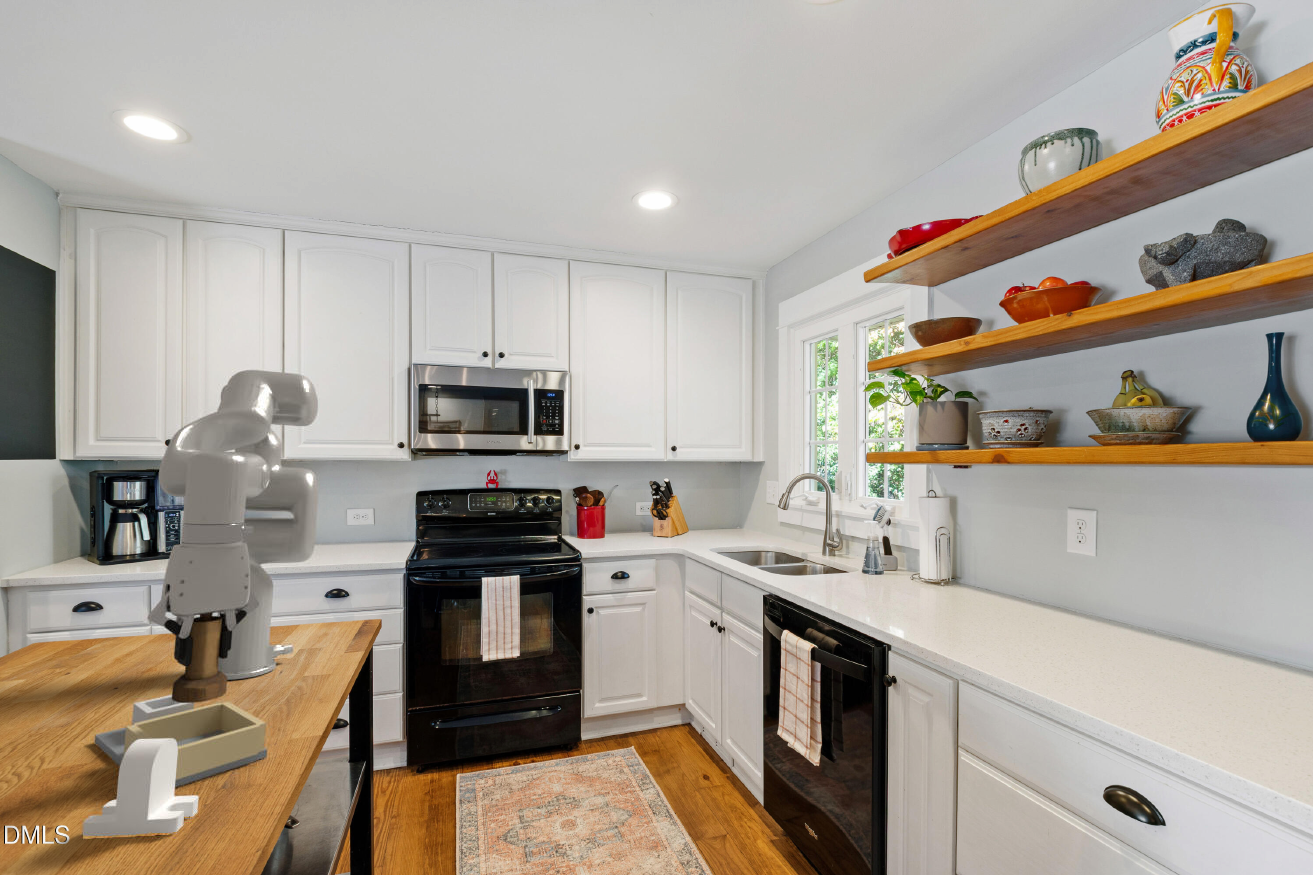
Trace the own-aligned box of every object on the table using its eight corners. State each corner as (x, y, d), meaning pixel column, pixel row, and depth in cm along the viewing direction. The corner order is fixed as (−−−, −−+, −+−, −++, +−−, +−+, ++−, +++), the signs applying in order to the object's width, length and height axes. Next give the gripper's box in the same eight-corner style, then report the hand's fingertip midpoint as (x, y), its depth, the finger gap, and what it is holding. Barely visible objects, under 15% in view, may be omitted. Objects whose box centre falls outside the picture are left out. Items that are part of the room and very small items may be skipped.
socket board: (201, 715, 107) (203, 684, 107) (268, 758, 93) (271, 722, 93) (94, 742, 95) (97, 708, 96) (152, 796, 82) (156, 755, 82)
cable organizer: (174, 835, 74) (182, 748, 74) (79, 840, 72) (87, 751, 72) (199, 811, 79) (206, 730, 79) (110, 814, 77) (118, 732, 78)
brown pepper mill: (237, 691, 94) (245, 570, 95) (192, 706, 88) (202, 577, 88) (205, 685, 96) (214, 566, 97) (160, 699, 90) (170, 572, 91)
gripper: (262, 530, 102) (253, 644, 101) (133, 536, 88) (121, 667, 87) (284, 534, 98) (275, 653, 97) (153, 541, 84) (140, 679, 83)
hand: (202, 658), depth 92 cm, fingers closed on brown pepper mill, 4 cm apart
